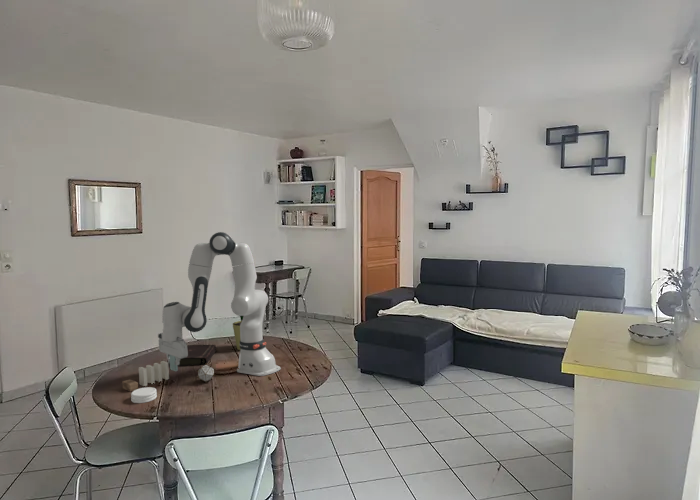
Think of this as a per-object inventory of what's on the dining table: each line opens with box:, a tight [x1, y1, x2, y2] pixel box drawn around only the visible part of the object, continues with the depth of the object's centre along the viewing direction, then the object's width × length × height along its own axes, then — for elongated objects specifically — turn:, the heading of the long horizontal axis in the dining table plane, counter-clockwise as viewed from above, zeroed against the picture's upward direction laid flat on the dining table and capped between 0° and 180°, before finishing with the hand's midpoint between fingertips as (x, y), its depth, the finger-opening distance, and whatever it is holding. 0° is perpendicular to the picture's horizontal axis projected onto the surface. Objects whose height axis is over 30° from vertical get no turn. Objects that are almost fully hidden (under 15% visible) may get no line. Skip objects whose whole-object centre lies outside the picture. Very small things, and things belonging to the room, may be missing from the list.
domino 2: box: [145, 364, 156, 385], centre depth 215 cm, size 4×1×8 cm, turn 52°
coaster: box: [130, 386, 158, 404], centre depth 196 cm, size 10×10×4 cm
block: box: [122, 379, 139, 393], centre depth 208 cm, size 7×4×3 cm, turn 52°
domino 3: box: [153, 362, 163, 383], centre depth 218 cm, size 4×1×8 cm, turn 52°
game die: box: [196, 363, 216, 384], centre depth 216 cm, size 9×8×10 cm
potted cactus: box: [232, 316, 244, 351], centre depth 271 cm, size 15×15×30 cm
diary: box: [178, 344, 217, 367], centre depth 252 cm, size 19×25×5 cm
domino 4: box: [160, 360, 170, 380], centre depth 221 cm, size 4×1×8 cm, turn 52°
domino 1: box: [138, 366, 148, 387], centre depth 213 cm, size 4×1×8 cm, turn 52°
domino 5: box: [169, 355, 179, 372], centre depth 225 cm, size 4×1×8 cm, turn 51°
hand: (173, 363), depth 225 cm, fingers closed on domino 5, 4 cm apart
